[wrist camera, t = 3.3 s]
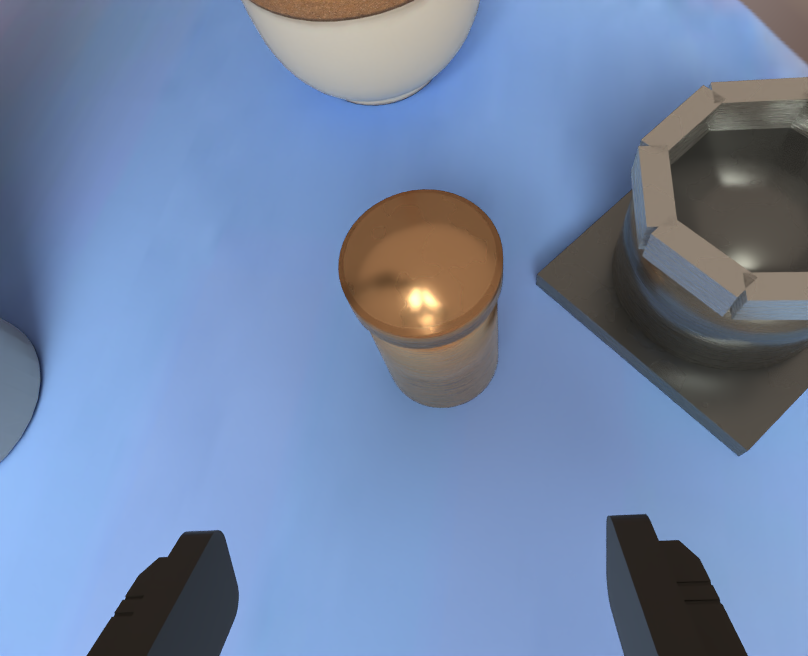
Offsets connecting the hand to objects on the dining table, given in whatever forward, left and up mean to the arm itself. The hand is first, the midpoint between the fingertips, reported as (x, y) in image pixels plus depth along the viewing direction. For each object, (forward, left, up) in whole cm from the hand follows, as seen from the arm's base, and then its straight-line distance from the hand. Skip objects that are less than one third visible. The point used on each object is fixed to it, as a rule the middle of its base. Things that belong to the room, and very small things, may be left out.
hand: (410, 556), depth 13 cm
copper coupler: (-7, +6, -13) cm, 16 cm away
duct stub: (-1, +17, -13) cm, 22 cm away
